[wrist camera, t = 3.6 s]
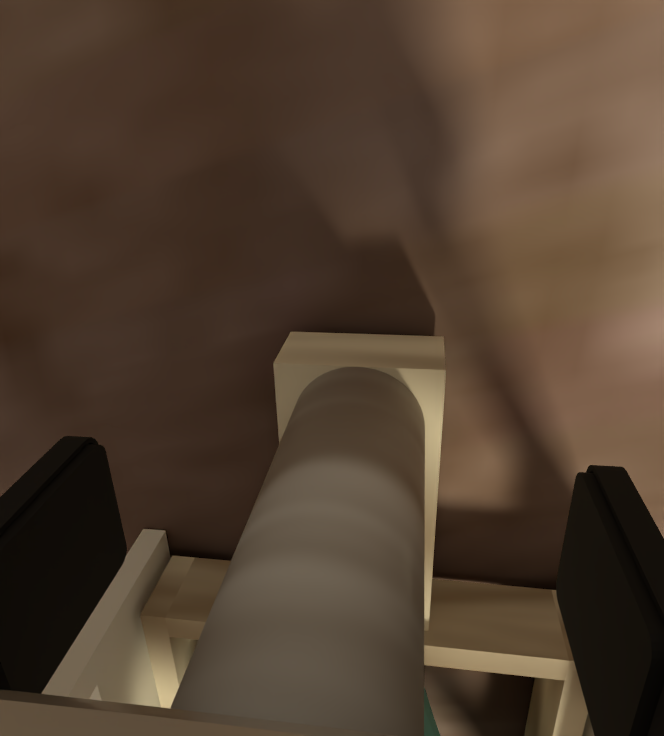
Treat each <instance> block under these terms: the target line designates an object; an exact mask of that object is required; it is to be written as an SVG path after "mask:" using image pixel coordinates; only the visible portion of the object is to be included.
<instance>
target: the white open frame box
mask: <svg viewBox="0 0 664 736" xmlns="http://www.w3.org/2000/svg"><path fill="white" fill-rule="evenodd" d="M170 559H171V557H170V552H169V546H168V541H167V536H166V531H165V530H153V529H143V530H142V532H141V533H140V535H139V536H138V538H137V539H136V541H135V542H134V544H133V546H132V547H131V549H130V550H129V552H128V553H127V555H126V557H125V560H124V563H123V565H122V566H121V568H120V570H119V571H118V573H117V574H116V576H115V577H114V579H113V581H112V582H111V584H110V585H109V587H108V589H107V590H106V592H105V593H104V595H103V597H102V598H101V600H100V601H99V603H98V604H97V606H96V608H95V609H94V611H93V612H92V614H91V616H90V617H89V619H88V620H87V622H86V623H85V625H84V627H83V628H82V630H81V631H80V633H79V635H78V636H77V638H76V639H75V641H74V643H73V644H72V646H71V647H70V649H69V650H68V652H67V654H66V655H65V657H64V658H63V660H62V662H61V663H60V665H59V666H58V668H57V669H56V671H55V673H54V674H53V676H52V677H51V679H50V681H49V682H48V684H47V685H46V687H45V689H44V690H43V692H42V693H41V694H47V695H56V696H65V697H74V698H83V699H92V700H100V701H109V702H118V703H127V704H136V705H145V706H154V707H161V705H160V701H159V696H158V692H157V688H156V683H155V679H154V675H153V670H152V666H151V662H150V657H149V653H148V648H147V644H146V640H145V635H144V631H143V627H142V622H141V618H140V614H141V612H142V610H143V608H144V607H145V605H146V603H147V601H148V599H149V597H150V596H151V594H152V592H153V590H154V588H155V586H156V585H157V583H158V581H159V579H160V577H161V575H162V574H163V572H164V570H165V568H166V566H167V564H168V562H169V561H170ZM582 736H594V732H593V729H592V725H591V721H590V718H589V714H587V718H586V722H585V726H584V730H583V734H582Z"/></svg>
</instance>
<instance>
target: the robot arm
mask: <svg viewBox="0 0 664 736" xmlns="http://www.w3.org/2000/svg"><path fill="white" fill-rule="evenodd" d="M126 551H127V547H126V541H125V537H124V532H123V528H122V523H121V518H120V514H119V509H118V505H117V500H116V496H115V491H114V487H113V482H112V478H111V473H110V469H109V464H108V460H107V455H106V451H105V448H104V447H103V446H102V445H98V442H97V441H96V440H95V439H94V438H92V437H74V436H65V437H63V438H62V439H60V440H59V441H58V442H57V443H56V444H55V445H54V446H53V447H52V448H51V449H50V450H49V451H48V452H47V453H46V454H45V455H44V456H43V457H42V458H40V459H39V460H38V461H37V462H36V463H35V464H34V465H33V466H32V467H31V468H30V469H29V470H28V471H27V472H26V473H25V474H24V475H23V476H22V477H21V478H20V479H19V480H18V481H17V482H16V483H14V484H13V485H12V486H11V487H10V488H9V489H8V490H7V491H6V492H5V493H4V494H3V495H2V496H1V497H0V736H395V735H387V734H379V733H371V732H363V731H355V730H347V729H339V728H331V727H323V726H314V725H306V724H298V723H289V722H281V721H273V720H264V719H256V718H247V717H239V716H231V715H222V714H214V713H205V712H196V711H188V710H179V709H171V708H162V707H154V706H145V705H136V704H127V703H118V702H109V701H100V700H92V699H83V698H74V697H65V696H56V695H47V694H41V693H42V692H43V690H44V689H45V687H46V685H47V684H48V682H49V681H50V679H51V677H52V676H53V674H54V673H55V671H56V669H57V668H58V666H59V665H60V663H61V662H62V660H63V658H64V657H65V655H66V654H67V652H68V650H69V649H70V647H71V646H72V644H73V643H74V641H75V639H76V638H77V636H78V635H79V633H80V631H81V630H82V628H83V627H84V625H85V623H86V622H87V620H88V619H89V617H90V616H91V614H92V612H93V611H94V609H95V608H96V606H97V604H98V603H99V601H100V600H101V598H102V597H103V595H104V593H105V592H106V590H107V589H108V587H109V585H110V584H111V582H112V581H113V579H114V577H115V576H116V574H117V573H118V571H119V570H120V568H121V566H122V565H123V563H124V560H125V557H126ZM556 594H557V600H558V604H559V608H560V612H561V615H562V619H563V623H564V626H565V630H566V634H567V637H568V641H569V645H570V648H571V652H572V656H573V659H574V663H575V667H576V670H577V674H578V678H579V681H580V685H581V689H582V692H583V696H584V700H585V703H586V707H587V710H588V714H589V718H590V721H591V725H592V729H593V732H594V736H664V538H663V537H662V535H661V533H660V531H659V529H658V527H657V526H656V524H655V522H654V520H653V518H652V517H651V515H650V513H649V511H648V509H647V507H646V506H645V504H644V502H643V500H642V498H641V497H640V495H639V493H638V491H637V489H636V488H635V486H634V484H633V482H632V480H631V478H630V477H629V475H628V473H627V471H626V470H625V469H624V468H623V467H615V466H597V465H590V466H589V467H588V469H587V472H586V473H583V472H579V473H578V474H577V475H576V479H575V484H574V490H573V495H572V500H571V506H570V511H569V516H568V522H567V527H566V532H565V538H564V543H563V549H562V554H561V559H560V565H559V570H558V575H557V582H556Z"/></svg>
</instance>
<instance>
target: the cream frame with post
mask: <svg viewBox="0 0 664 736" xmlns="http://www.w3.org/2000/svg"><path fill="white" fill-rule="evenodd" d="M273 367H274V380H275V394H276V408H277V421H278V435H279V446H278V448H277V451H276V453H275V456H274V458H273V461H272V463H271V465H270V468H269V470H268V473H267V475H266V477H265V480H264V482H263V485H262V487H261V490H260V492H259V494H258V497H257V499H256V502H255V504H254V507H253V509H252V511H251V514H250V516H249V519H248V521H247V524H246V526H245V528H244V531H243V533H242V536H241V538H240V540H239V543H238V545H237V548H236V550H235V553H234V555H233V557H232V560H231V561H228V560H217V559H205V558H194V557H183V556H172V557H171V559H170V561H169V562H168V564H167V566H166V568H165V570H164V572H163V574H162V575H161V577H160V579H159V581H158V583H157V585H156V586H155V588H154V590H153V592H152V594H151V596H150V597H149V599H148V601H147V603H146V605H145V607H144V608H143V610H142V612H141V614H140V618H141V622H142V627H143V631H144V635H145V640H146V644H147V648H148V653H149V657H150V662H151V666H152V670H153V675H154V679H155V683H156V688H157V692H158V696H159V701H160V705H161V707H162V708H171V709H179V710H188V711H196V712H205V713H214V714H222V715H231V716H239V717H247V718H256V719H264V720H273V721H281V722H289V723H298V724H306V725H314V726H323V727H331V728H339V729H347V730H355V731H363V732H371V733H379V734H387V735H395V736H424V665H428V666H438V667H447V668H456V669H465V670H474V671H483V672H492V673H501V674H510V675H519V676H528V677H535V680H534V685H533V691H532V696H531V701H530V707H529V712H528V718H527V723H526V728H525V734H524V736H582V734H583V730H584V726H585V722H586V718H587V714H588V710H587V707H586V703H585V700H584V696H583V692H582V689H581V685H580V681H579V678H578V674H577V670H576V667H575V663H574V659H573V656H572V652H571V648H570V645H569V641H568V637H567V634H566V630H565V626H564V623H563V619H562V615H561V612H560V608H559V604H558V600H557V594H556V590H549V589H538V588H527V587H516V586H505V585H494V584H483V583H472V582H461V581H449V580H438V579H432V572H433V557H434V542H435V527H436V512H437V497H438V482H439V467H440V452H441V437H442V422H443V407H444V392H445V378H446V363H445V349H444V337H443V336H412V335H382V334H351V333H320V332H290V334H289V336H288V337H287V339H286V341H285V343H284V345H283V346H282V348H281V350H280V352H279V354H278V355H277V357H276V359H275V361H274V363H273Z"/></svg>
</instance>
